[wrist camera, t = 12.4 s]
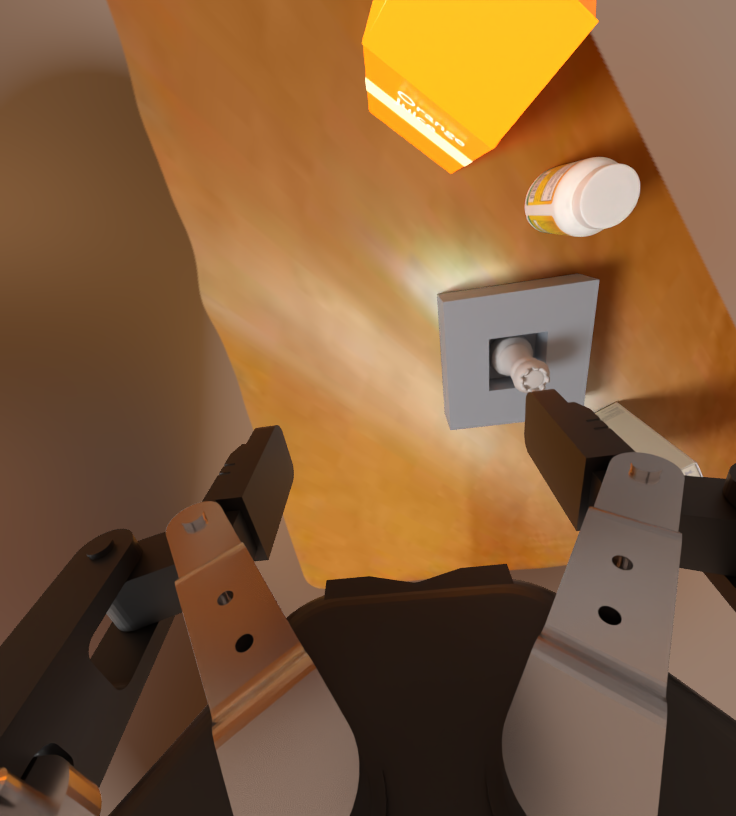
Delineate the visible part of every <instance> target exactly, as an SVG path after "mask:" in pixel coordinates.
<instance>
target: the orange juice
mask: <svg viewBox="0 0 736 816" xmlns="http://www.w3.org/2000/svg"><path fill="white" fill-rule="evenodd" d="M598 22H599V21H598V20H597V19H596V0H373V3H372V7H371V10H370V14H369V18H368V22H367V26H366V29H365V33H364V36H363V41H362V44H363V49H364V60H365V71H366V78H365V81H366V90H367V93H368V104H369V112H371V113H372V114H373V115H375V116H376V117H377V118H378V119H380V120H381V121H382V122H384V123H385V124H386V125H388V126H389V127H390V128H392V129H393V130H394V131H395V132H397V133H398V134H399V135H401V136H402V137H403V138H405V139H406V140H407V141H408V142H410V143H411V144H412V145H414V146H415V147H416V148H418V149H419V150H420V151H422V152H423V153H424V154H425V155H427V156H428V157H429V158H431V159H432V160H433V161H435V162H436V163H437V164H438V165H440V166H441V167H442V168H444V169H445V170H446V171H448V172H449V173H450V174H452V173H453V172H455V171H457V170H458V169H460V168H462V167H463V166H464V167H465V166H466V165H468V164H470V163H472V161H473V160H475V159H477V158H478V157H480V156H482V155H483V154H485V153H487V152H488V151H490V150H492V149H493V148H495V147H496V146H497V144H498V143H499V141H500V140H501V138H502V137H503V136H504V135H505V134H506V132H507V131H508V130H509V129H510V128H511V126H512V125H513V124H514V123H515V122H516V120H517V119H518V118H519V117H520V116H521V114H522V113H523V112H524V111H525V110H526V108H527V107H528V106H529V105H530V104H531V102H532V101H533V100H534V99H535V98H536V96H537V95H538V94H539V93H540V92H541V90H542V89H543V88H544V87H545V86H546V84H547V83H548V82H549V81H550V80H551V78H552V77H553V76H554V75H555V74H556V72H557V71H558V70H559V69H560V67H561V66H562V65H563V64H564V63H565V61H566V60H567V59H568V58H569V57H570V55H571V54H572V53H573V52H574V51H575V49H576V48H577V47H578V46H579V45H580V43H581V42H582V41H583V40H584V39H585V37H586V36H587V35H588V34H589V33H590V31H591V30H592V29H593V28H594V27H595V25H596V24H597V23H598Z"/></svg>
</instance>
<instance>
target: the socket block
mask: <svg viewBox="0 0 736 816" xmlns="http://www.w3.org/2000/svg"><path fill="white" fill-rule="evenodd" d="M598 288H599V279H596V278H593V277H589V276H586V275H582V274H579V273H578V274H571V275H565V276H558V277H551V278H544V279H537V280H531V281H524V282H517V283H510V284H504V285H497V286H490V287H483V288H477V289H470V290H463V291H456V292H449V293H443V294H437V300H438V315H439V331H440V346H441V362H442V377H443V393H444V408H445V415H446V418H447V421H448V424H449V427H450V430H457V429H465V428H474V427H483V426H492V425H500V424H509V423H518V422H525V404H526V395H527V393H524V392H520V391H519V390H518V389H517V388H515V386H514V383H513V380H512V378H511V376H506V375H503V374H500V373H498V372H497V371H496V370H495V369H493V368H492V367H491V366H490V364H489V348H490V346H491V344H492V343H493V342H494V341H495V340H496V339H497V338H502V337H510V336H517V335H523V336H524V337H525V338H526V339H527V340H528V342H529V343H530V344H531V347H532V350H533V358H536V359H537V360H539V361H542V362H544V363H545V364H546V365H547V366H548V367H549V370H550V376H549V377H550V382H549V383H548V382H547V383H546V385H545V387H546V388H545V389H544V390H548V389H555V390H556V391H557V392H558V393H559V394H560V395H561V396H562V397H563V398H564V399H565V400H566V401H567V402H568V403H569V402H576V403H578V404H580V405H582V406H584V400H585V392H586V384H587V376H588V368H589V360H590V352H591V344H592V336H593V328H594V320H595V312H596V304H597V296H598ZM538 391H540V390H538Z"/></svg>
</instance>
